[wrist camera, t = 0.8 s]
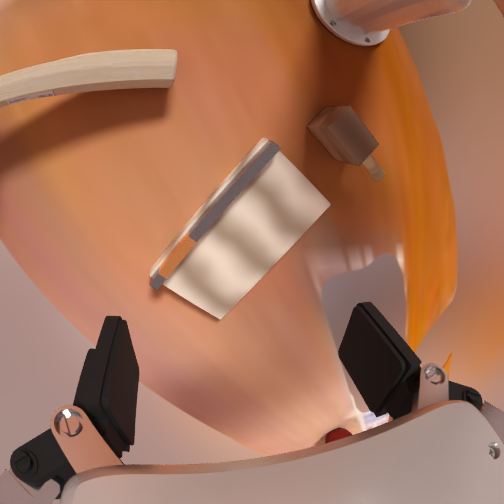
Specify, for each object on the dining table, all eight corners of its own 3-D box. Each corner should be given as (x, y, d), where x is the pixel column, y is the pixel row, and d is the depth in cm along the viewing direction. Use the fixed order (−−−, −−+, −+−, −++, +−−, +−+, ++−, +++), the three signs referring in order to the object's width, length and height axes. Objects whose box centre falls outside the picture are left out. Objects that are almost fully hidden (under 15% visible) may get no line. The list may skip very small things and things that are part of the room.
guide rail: (268, 140, 30) (273, 141, 28) (275, 147, 30) (281, 148, 28) (151, 276, 34) (149, 285, 32) (158, 281, 34) (157, 290, 32)
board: (262, 137, 31) (266, 138, 30) (324, 200, 36) (331, 204, 35) (151, 268, 35) (149, 275, 34) (218, 311, 41) (220, 319, 39)
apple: (341, 421, 67) (353, 446, 59) (352, 425, 72) (364, 448, 63) (315, 436, 69) (326, 461, 60) (328, 440, 73) (339, 463, 64)
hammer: (191, 27, 17) (-84, 92, 4) (185, 74, 19) (-88, 136, 6) (165, 65, 29) (-25, 97, 17) (162, 96, 31) (-27, 128, 19)
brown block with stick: (325, 107, 31) (349, 105, 26) (370, 163, 36) (396, 170, 30) (305, 127, 32) (327, 127, 26) (353, 182, 36) (378, 192, 31)
